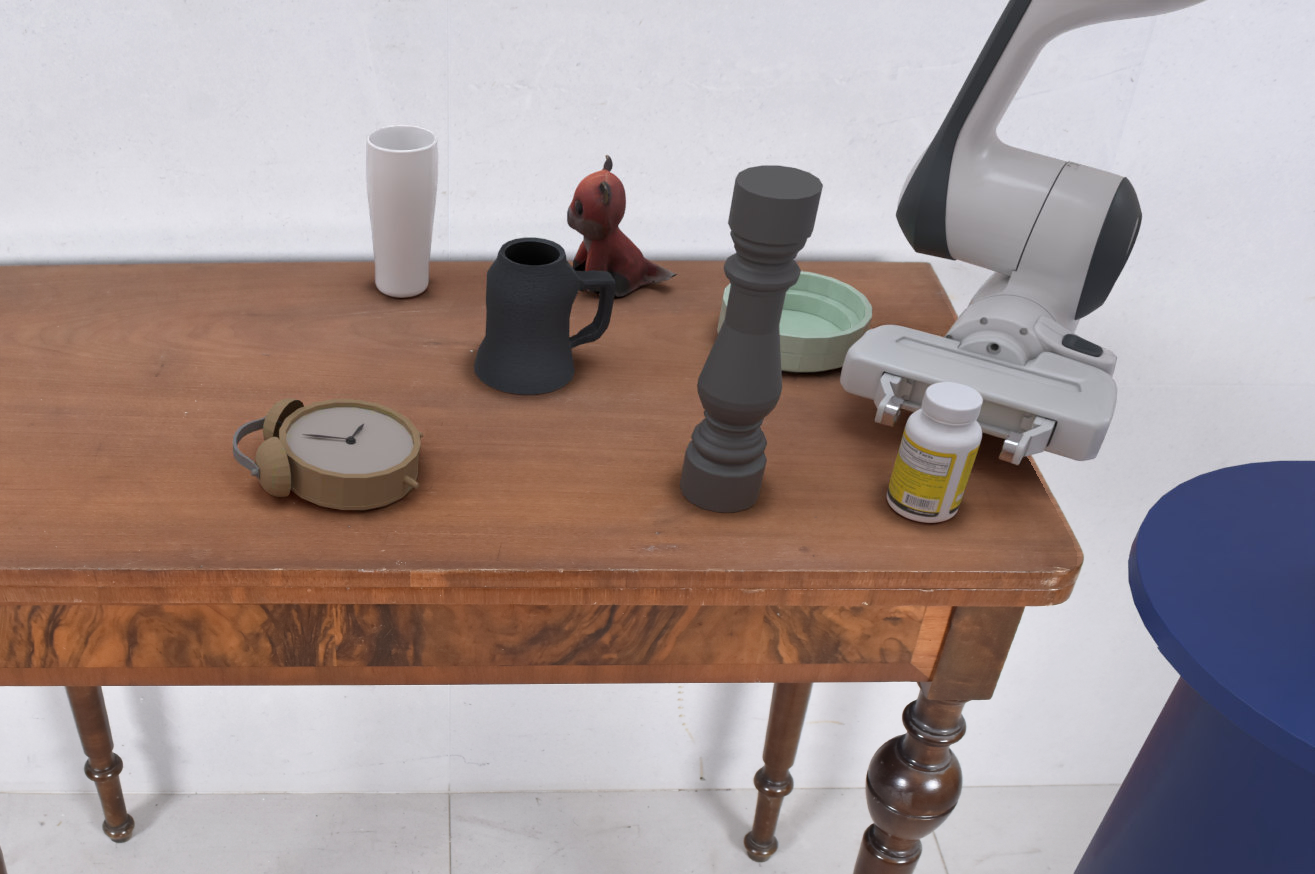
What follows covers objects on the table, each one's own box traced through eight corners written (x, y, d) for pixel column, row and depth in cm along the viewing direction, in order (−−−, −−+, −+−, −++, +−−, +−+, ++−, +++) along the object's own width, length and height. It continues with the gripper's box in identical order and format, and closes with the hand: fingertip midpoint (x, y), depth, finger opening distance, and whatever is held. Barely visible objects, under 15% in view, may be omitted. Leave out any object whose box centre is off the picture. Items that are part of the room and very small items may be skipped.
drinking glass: (376, 307, 125) (374, 154, 115) (361, 276, 130) (358, 127, 120) (443, 299, 126) (447, 147, 117) (426, 269, 131) (428, 121, 122)
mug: (485, 398, 112) (491, 279, 105) (464, 347, 119) (468, 232, 112) (618, 387, 114) (633, 268, 106) (590, 337, 121) (602, 222, 113)
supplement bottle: (934, 480, 103) (969, 372, 96) (970, 520, 99) (1009, 410, 92) (871, 489, 102) (902, 380, 96) (906, 529, 98) (941, 419, 92)
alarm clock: (421, 485, 97) (224, 450, 96) (410, 536, 100) (219, 502, 99) (427, 406, 106) (246, 373, 105) (416, 455, 109) (240, 423, 108)
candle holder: (759, 472, 104) (825, 167, 87) (759, 517, 99) (829, 204, 83) (681, 463, 105) (732, 160, 88) (678, 507, 100) (730, 196, 84)
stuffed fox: (680, 304, 125) (698, 184, 118) (564, 304, 126) (575, 184, 118) (668, 269, 131) (685, 152, 123) (558, 269, 131) (568, 152, 123)
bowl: (881, 331, 121) (891, 292, 119) (833, 392, 113) (843, 352, 110) (749, 295, 127) (756, 257, 124) (693, 351, 119) (700, 311, 116)
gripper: (880, 291, 109) (822, 360, 100) (1139, 359, 100) (1101, 440, 92) (863, 358, 113) (806, 429, 104) (1111, 428, 104) (1071, 512, 96)
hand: (946, 435), depth 98 cm, fingers open, 8 cm apart
